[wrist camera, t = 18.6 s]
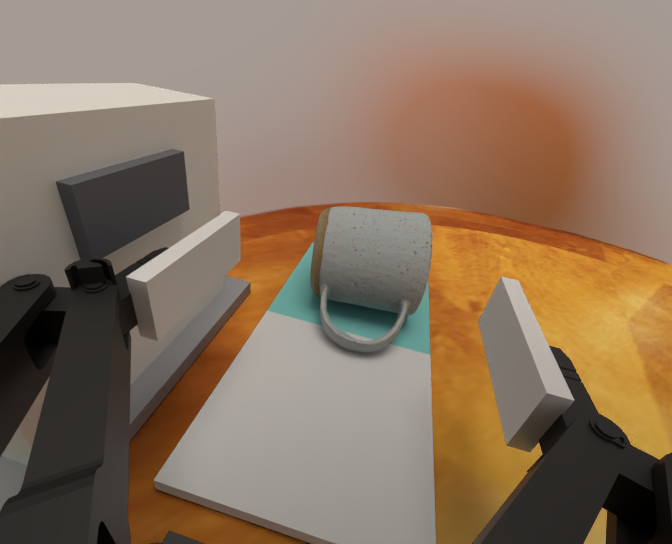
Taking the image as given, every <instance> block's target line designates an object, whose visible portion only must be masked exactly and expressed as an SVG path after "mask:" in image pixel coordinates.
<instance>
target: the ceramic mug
mask: <svg viewBox="0 0 672 544" xmlns="http://www.w3.org/2000/svg"><path fill="white" fill-rule="evenodd" d="M431 256H432V227H431V222H430V219H429V217H428V216H427V215H426V214H423V213H414V212H400V211H388V210H377V209H367V208H359V207H331V208H327V209H325V210H324V211H323V212H322V213H321V215H320V217H319V220H318V225H317V229H316V235H315V240H314V247H313V254H312V262H311V274H310V283H311V288H312V290H313V291H314V293H315V294H316V295H318V296H320V297H321V301H320V315H321V322H322V325H323V328H324V330H325V332H326V334H327V335H328V336H329V337H330V338H331V339H332V340H333V341H334V342H335V343H337V344H338V345H340V346H341V347H343V348H346V349H348V350H352V351H356V352H365V353H369V352H374V351H378V350H380V349H382V348H384V347H385V346H387V345H388V344H389V343H390V342H391V341H392V340H393V339H394V338H395V337H396V335H397V334H398V332H399V330H400V328H401V326H402V324H403V322H404V319H405V316H406V315H412V314H414V313H415V312H416V310H417V309H418V307H419V305H420V303H421V300H422V298H423V295H424V293H425V289H426V285H427V281H428V277H429V270H430V265H431ZM327 299H329V300H333V301H337V302H344V303H349V304H355V305H360V306H364V307H368V308H373V309H378V310H383V311H388V312H393V313H398V318H397V321H396V323H395V325H394V326H393V327H392V329H390V330H389V331H388V332H386V333H385V334H383V335H381V336H380V337H379V338H377V339H374V340H371V341H362V340H357V339H355V338H353V337H351V336H350V335H348V334H347V333H346V332H344V331H340V330H339V329H338V328H337V326H335V325H334V324H332V322H331V320H330V318H329V315H328V313H327Z"/></svg>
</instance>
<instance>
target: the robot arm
mask: <svg viewBox="0 0 672 544" xmlns="http://www.w3.org/2000/svg"><path fill="white" fill-rule="evenodd" d="M239 261H240V214H238V213H233V212H229V211H225V212H223V213H222V214H220V215H219V216H217V217H216V218H214V219H213V220H211V221H210V222H208V223H207V224H205V225H203V226H202V227H200V228H199V229H197V230H196V231H194V232H193V233H191V234H190V235H188V236H187V237H185V238H184V239H182V240H181V241H179V242H178V243H176V244H175V245H173V246H172V247H170V248H167V247H164V248H161V249H158V250H155V251H152V252H151V253H149V254H148V255H146V256H145V257H144V258H141V259H140V260H138V261H137V262H136V263H133V264H132V265H130V266H129V267H127V268H126V269H124V270H122V271H121V272H119V273H118V274H116V275H115V274H114V270H113V266H112V263H111V261H109V260H107V259H104V258H86V259H81V260H78V261H75V262H73V263H71V264H70V265H68V266H67V267H66V268H65V270H64V271H65V274H66V276H67V279H68V282H69V285H70V287H71V288H70V287H54V285H53V283H52V280H51V278H50V277H49V276H47V275H44V274H27V275H23V276H18V277H16V278H14V279H11V280H9V281H7V282H6V283H4V284H3V285H2V286H1V287H0V457H1V455H2V454H3V452H4V450H5V449H6V447H7V445H8V444H9V442H10V440H11V439H12V437H13V436H14V434H15V432H16V431H17V429H18V427H19V426H20V424H21V422H22V421H23V419H24V417H25V416H26V414H27V413H28V411H29V409H30V408H31V406H32V404H33V403H34V401H35V399H36V398H37V396H38V394H39V393H40V391H41V389H42V388H43V386H44V385H45V383H46V381H47V380H48V378H49V381H48V385H47V389H46V393H45V397H44V401H43V405H42V409H41V413H40V417H39V421H38V425H37V429H36V433H35V437H34V441H33V445H32V449H31V453H30V457H29V461H28V465H27V468H26V472H25V476H24V480H23V484H22V487H21V490H20V491H19V493H18V494H17V495H15V496H12V497H10V498H8V499H7V501H6V502H5V503H4V505H3V506H2V509H1V511H0V544H131V537H130V531H129V524H128V482H129V430H130V379H131V335H130V330H131V329H133V328H134V327H135V326H136V325H138V329H139V333H140V336H142V337H145V338H148V339H152V340H155V341H159V340H160V339H161V338H162V337H163V336H164V335H165V334H166V333H167V332H168V331H169V330H170V329H171V328H172V327H173V326H174V325H175V324H176V323H177V322H178V321H179V320H180V319H181V318H182V317H183V316H184V315H185V314H186V313H187V312H188V311H189V310H190V309H191V308H192V307H193V306H195V305H196V304H197V303H198V302H199V301H200V300H201V299H202V298H203V297H204V296H205V295H206V294H207V293H208V292H209V291H210V290H211V289H212V288H213V287H214V286H215V285H216V284H217V283H218V282H219V281H220V280H221V279H222V278H223V277H224V276H225V275H226V274H227V273H228V272H229V271H230V270H231V269H232V268H233V267H234V266H235V265H236V264H237V263H238V262H239ZM478 322H479V326H480V331H481V335H482V339H483V344H484V348H485V353H486V357H487V362H488V366H489V370H490V375H491V379H492V384H493V388H494V393H495V397H496V401H497V406H498V410H499V415H500V419H501V424H502V428H503V432H504V437H505V441H506V445H507V446H511V447H514V448H517V449H521V450H524V451H527V452H531V451H532V449H533V448H534V447H535V446H536V445H537V444H538V443H539V444H540V447H541V450H542V453H543V455H542V456H541V457H540V458H539V459H538V460H537V461H536V462H535V463H534V464H533V466H532V467H531V468H530V469H529V470H528V471H527V472H528V473H527V474H526V475H525V477H524V478H523V479H522V481H521V482H520V483H519V484H518V486H517V487H516V488H515V489H514V491H513V492H512V493H511V495H510V496H509V497H508V498H507V500H506V501H505V502H504V503H503V505H502V506H501V507H500V509H499V510H498V511H497V512H496V514H495V515H494V516H493V518H492V519H491V520H490V521H489V523H488V524H487V525H486V526H485V528H484V529H483V530H482V532H481V533H480V534H479V535H478V537H477V538H476V539H475V541H474V542H473V543H472V544H583V543H584V541H585V539H586V537H587V535H588V533H589V531H590V529H591V527H592V525H593V524H594V522H595V520H596V518H597V516H598V514H599V512H600V510H601V508H602V507H603V508H604V509H606V510H607V529H606V544H672V453H670V454H667V455H665V456H664V457H663V458H661V459H660V460H659V459H657V458H655V457H653V456H651V455H649V454H647V453H645V452H643V451H641V450H639V449H637V448H636V447H634V446H632V445H631V444H630V442H629V440H628V438H627V436H626V435H625V433H624V432H623V431H622V430H621V429H620V428H619V427H618V426H617V425H616V424H615V423H613V422H612V421H611V420H609V419H608V418H606V417H604V416H603V415H601V414H599V413H598V411H597V409H596V408H595V406H594V404H593V402H592V400H591V398H590V396H589V394H588V392H587V390H586V388H585V387H584V385H583V383H582V382H581V379H580V377H579V375H578V373H576V369H575V367H574V366H573V364H572V362H571V360H570V359H569V358H568V357H567V356H566V355H565V354H564V353H563V351H562V350H561V349H560V348H556V347H552V346H549V345H548V343H547V341H546V339H545V336H544V334H543V332H542V330H541V328H540V326H539V324H538V322H537V319H536V317H535V315H534V313H533V311H532V309H531V307H530V305H529V302H528V300H527V298H526V296H525V294H524V292H523V290H522V288H521V285H520V283H519V281H518V280H514V279H509V278H505V277H501V278H500V280H499V282H498V284H497V286H496V288H495V290H494V292H493V294H492V296H491V298H490V300H489V302H488V304H487V306H486V308H485V310H484V311H483V313H482V315H481V317H480V319H479V321H478ZM49 376H50V377H49ZM151 544H204V543H201V542H198V541H196V540H193V539H190V538H188V537H185V536H182V535H180V534H177V533H174V532H172V531H168V533H167V535H166V537H165V539H164V540H163V542H158V543H151Z"/></svg>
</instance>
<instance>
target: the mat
mask: <svg viewBox="0 0 672 544" xmlns="http://www.w3.org/2000/svg"><path fill="white" fill-rule="evenodd" d="M313 247H314V242H313V243H312V245H311V246H310V248H309V249H308V251H307V252H306V254H305V255H304V257H303V258H302V260H301V261H300V262H299V264H298V265H297V267H296V268H295V270H294V271H293V273H292V274H291V276H290V277H289V279H288V280H287V282H286V283H285V285H284V286H283V288H282V289H281V291H280V292H279V294H278V295H277V297H276V298H275V300H274V301H273V303H272V304H271V306H270V307H269V309H268V310H267V312H266V313H265V315H264V316H263V318H262V319H261V321H260V322H259V324H258V325H257V327H256V328H255V330H254V331H253V333H252V334H251V336H250V337H249V339H248V340H247V342H246V343H245V344H244V346H243V347H242V349H241V350H240V352H239V353H238V355H237V356H236V358H235V359H234V361H233V362H232V364H231V365H230V367H229V368H228V370H227V371H226V373H225V374H224V376H223V377H222V379H221V380H220V382H219V383H218V385H217V386H216V388H215V389H214V391H213V392H212V394H211V395H210V397H209V398H208V400H207V401H206V403H205V404H204V406H203V407H202V409H201V410H200V412H199V413H198V415H197V416H196V418H195V419H194V421H193V422H192V424H191V425H190V426H189V428H188V429H187V431H186V432H185V434H184V435H183V437H182V438H181V440H180V441H179V443H178V444H177V446H176V447H175V449H174V450H173V452H172V453H171V455H170V456H169V458H168V459H167V461H166V462H165V464H164V465H163V467H162V468H161V470H160V471H159V473H158V474H157V476H156V477H155V479H154V484H155V487H156V489H157V490H160V491H163V492H166V493H168V494H171V495H174V496H177V497H180V498H183V499H185V500H188V501H191V502H194V503H197V504H200V505H203V506H205V507H208V508H211V509H214V510H217V511H220V512H222V513H225V514H228V515H231V516H234V517H237V518H240V519H242V520H245V521H248V522H251V523H254V524H257V525H259V526H262V527H265V528H268V529H271V530H274V531H277V532H279V533H282V534H285V535H288V536H291V537H294V538H296V539H299V540H302V541H305V542H308V543H311V544H436V525H435V492H434V460H433V427H432V394H431V361H430V328H429V295H428V281H427V285H426V289H425V293H424V295H423V298H422V300H421V303H420V305H419V307H418V309H417V310H416V312H415V313H414V314H412V315H406V316H405V319H404V322H403V324H402V326H401V328H400V330H399V332H398V334H397V335H396V337H395V338H394V339H393V340H392V341H391V342H390V343H389V344H388V345H387V346H385V347H384V348H382V349H380V350H378V351H374V352H369V353H365V352H356V351H352V350H348V349H346V348H343V347H341V346H340V345H338V344H337V343H335V342H334V341H333V340H332V339H331V338H330V337H329V336H328V335H327V334H326V332H325V330H324V328H323V325H322V322H321V315H320V301H321V297H320V296H318V295H316V294H315V293H314V291H313V290H312V288H311V283H310V274H311V262H312V254H313ZM327 313H328V315H329V318H330V320H331V322H332V324H334V325H335V326H337V328H338V329H339V330H340V331H344V332H346V333H347V334H348V335H350V336H351V337H353V338H355V339H357V340H362V341H371V340H374V339H377V338H379V337H380V336H381V335H383V334H385V333H386V332H388V331H389V330H390V329H392V327H393V326H394V325H395V323H396V321H397V318H398V313H393V312H388V311H383V310H378V309H373V308H368V307H364V306H360V305H355V304H349V303H344V302H337V301H333V300H329V299H327Z"/></svg>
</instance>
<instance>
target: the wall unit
mask: <svg viewBox="0 0 672 544" xmlns="http://www.w3.org/2000/svg"><path fill="white" fill-rule="evenodd" d="M216 139H217V138H216V117H215V99H213V98H208V97H202V96H198V95H193V94H187V93H183V92H178V91H172V90H167V89H162V88H157V87H152V86H147V85H142V84H137V83H92V84H91V83H88V84H3V85H2V84H0V287H1V286H2V285H3V284H4V283H6V282H7V281H9V280H11V279H14V278H16V277H18V276H23V275H27V274H44V275H47V276H49V277H50V278H51V280H52V283H53V285H54V287H70V285H69V282H68V279H67V276H66V274H65V271H64V270H65V268H66V267H67V266H68V265H70V264H71V263H73V262H75V261H78V260H81V259H86V258H104V259H107V260H109V261H111V263H112V266H113V270H114V274H115V275H116V274H118V273H119V272H121V271H122V270H124V269H126V268H127V267H129V266H130V265H132V264H133V263H136V262H137V261H138V260H140V259H141V258H144V257H145V256H146V255H148V254H149V253H151V252H152V251H155V250H158V249H161V248H164V247H167V248H170V247H172V246H173V245H175V244H176V243H178V242H179V241H181V240H182V239H184V238H185V237H187V236H188V235H190V234H191V233H193V232H194V231H196V230H197V229H199V228H200V227H202V226H203V225H205V224H207V223H208V222H210V221H211V220H213V219H214V218H216V217H217V216H219V215H220V203H219V202H220V201H219V181H218V161H217V160H218V159H217V140H216ZM70 288H71V287H70ZM249 293H250V282H248V281H244V280H240V279H236V278H232V277H229V276H224V277H223V278H222V279H221V280H220V281H219V282H218V283H217V284H216V285H215V286H214V287H213V288H212V289H211V290H210V291H209V292H208V293H207V294H206V295H205V296H204V297H203V298H202V299H201V300H200V301H199V302H198V303H197V304H196V305H195V306H193V307H192V308H191V309H190V310H189V311H188V312H187V313H186V314H185V315H184V316H183V317H182V318H181V319H180V320H179V321H178V322H177V323H176V324H175V325H174V326H173V327H172V328H171V329H170V330H169V331H168V332H167V333H166V334H165V335H164V336H163V337H162V338H161V339H160V340H159V341H155V340H152V339H148V338H145V337H142V336H140V333H139V329H138V325H136V326H135V327H134V328H133V329H131V330H130V335H131V379H130V430H129V442H130V441H131V439H132V438H133V437H134V436H135V434H136V433H137V432H138V431H139V429H140V428H141V427H142V426H143V424H144V423H145V422H146V421H147V420H148V418H149V417H150V416H151V415H152V413H153V412H154V411H155V410H156V408H157V407H158V406H159V405H160V403H161V402H162V401H163V400H164V399H165V397H166V396H167V395H168V394H169V392H170V391H171V390H172V389H173V387H174V386H175V385H176V384H177V382H178V381H179V380H180V379H181V377H182V376H183V375H184V374H185V373H186V371H187V370H188V369H189V368H190V366H191V365H192V364H193V363H194V361H195V360H196V359H197V358H198V356H199V355H200V354H201V353H202V351H203V350H204V349H205V348H206V347H207V345H208V344H209V343H210V342H211V340H212V339H213V338H214V337H215V335H216V334H217V333H218V332H219V330H220V329H221V328H222V327H223V325H224V324H225V323H226V322H227V321H228V319H229V318H230V317H231V316H232V314H233V313H234V312H235V311H236V309H237V308H238V307H239V306H240V304H241V303H242V302H243V301H244V300H245V298H246V297H247V296H248V295H249ZM49 377H50V376H49ZM48 381H49V378H48V380H47V381H46V383H45V385H44V386H43V388H42V389H41V391H40V393H39V394H38V396H37V398H36V399H35V401H34V403H33V404H32V406H31V408H30V409H29V411H28V413H27V414H26V416H25V417H24V419H23V421H22V422H21V424H20V426H19V427H18V429H17V431H16V432H15V434H14V436H13V437H12V439H11V440H10V442H9V444H8V445H7V447H6V449H5V450H4V452H3V454H2V455H1V457H0V511H1V509H2V506H3V505H4V503H5V502H6V501H7V499H8V498H10V497H12V496H15V495H17V494H18V493H19V491H20V490H21V487H22V484H23V480H24V476H25V472H26V468H27V465H28V461H29V457H30V453H31V449H32V445H33V441H34V437H35V433H36V429H37V425H38V421H39V417H40V413H41V409H42V405H43V401H44V397H45V393H46V389H47V385H48Z"/></svg>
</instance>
